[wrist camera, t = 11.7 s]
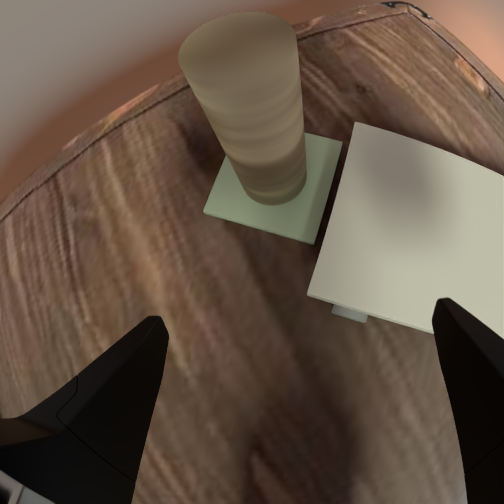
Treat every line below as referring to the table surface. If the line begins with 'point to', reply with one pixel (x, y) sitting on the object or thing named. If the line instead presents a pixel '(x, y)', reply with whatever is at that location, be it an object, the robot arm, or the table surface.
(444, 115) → the table surface
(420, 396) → the table surface
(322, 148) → the pad
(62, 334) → the table surface
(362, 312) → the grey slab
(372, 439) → the table surface
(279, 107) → the birch roller
